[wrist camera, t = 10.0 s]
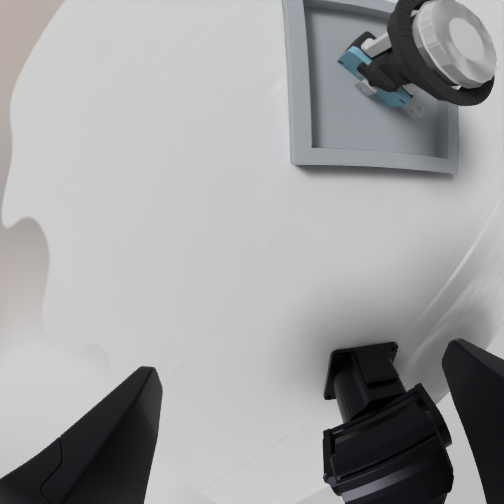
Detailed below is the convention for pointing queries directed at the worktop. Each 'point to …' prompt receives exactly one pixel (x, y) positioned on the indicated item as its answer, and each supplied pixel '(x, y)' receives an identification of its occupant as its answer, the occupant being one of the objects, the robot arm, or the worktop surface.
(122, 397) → the robot arm
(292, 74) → the tray
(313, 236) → the worktop surface
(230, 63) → the worktop surface
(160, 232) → the worktop surface
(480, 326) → the worktop surface
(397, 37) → the push button
